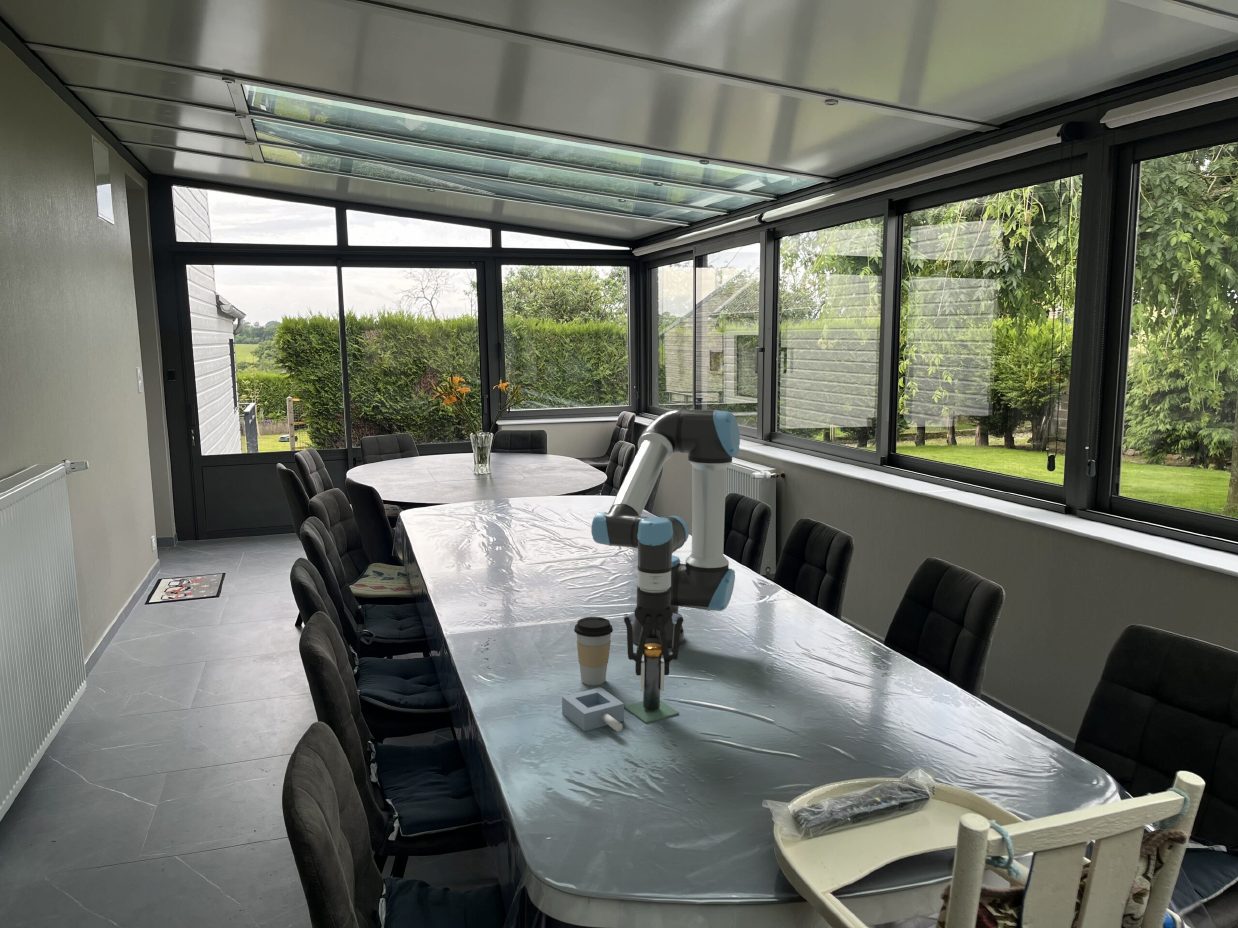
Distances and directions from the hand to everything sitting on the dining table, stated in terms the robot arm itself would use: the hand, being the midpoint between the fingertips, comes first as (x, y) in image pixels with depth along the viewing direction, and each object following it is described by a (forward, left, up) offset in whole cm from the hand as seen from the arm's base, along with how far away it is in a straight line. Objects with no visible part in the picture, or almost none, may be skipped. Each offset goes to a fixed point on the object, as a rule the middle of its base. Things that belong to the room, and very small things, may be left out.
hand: (651, 688), depth 188 cm
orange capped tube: (0, 0, -4) cm, 4 cm away
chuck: (-1, -13, -5) cm, 14 cm away
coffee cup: (-21, -3, -6) cm, 22 cm away
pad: (0, 0, -5) cm, 5 cm away
